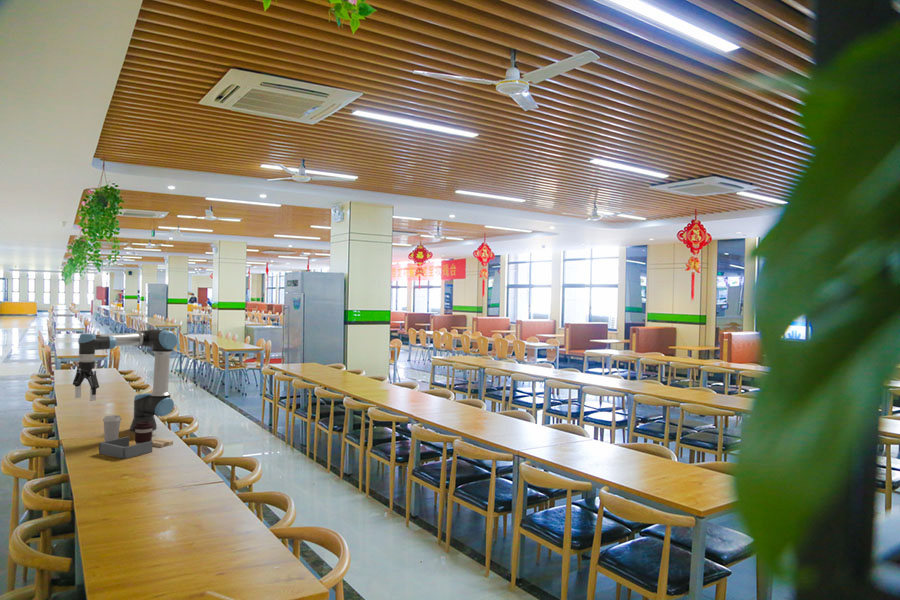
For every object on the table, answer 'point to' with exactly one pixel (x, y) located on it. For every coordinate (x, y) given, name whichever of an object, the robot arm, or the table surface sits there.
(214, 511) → the table surface
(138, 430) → the coffee cup
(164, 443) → the board
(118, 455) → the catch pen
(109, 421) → the coffee cup
